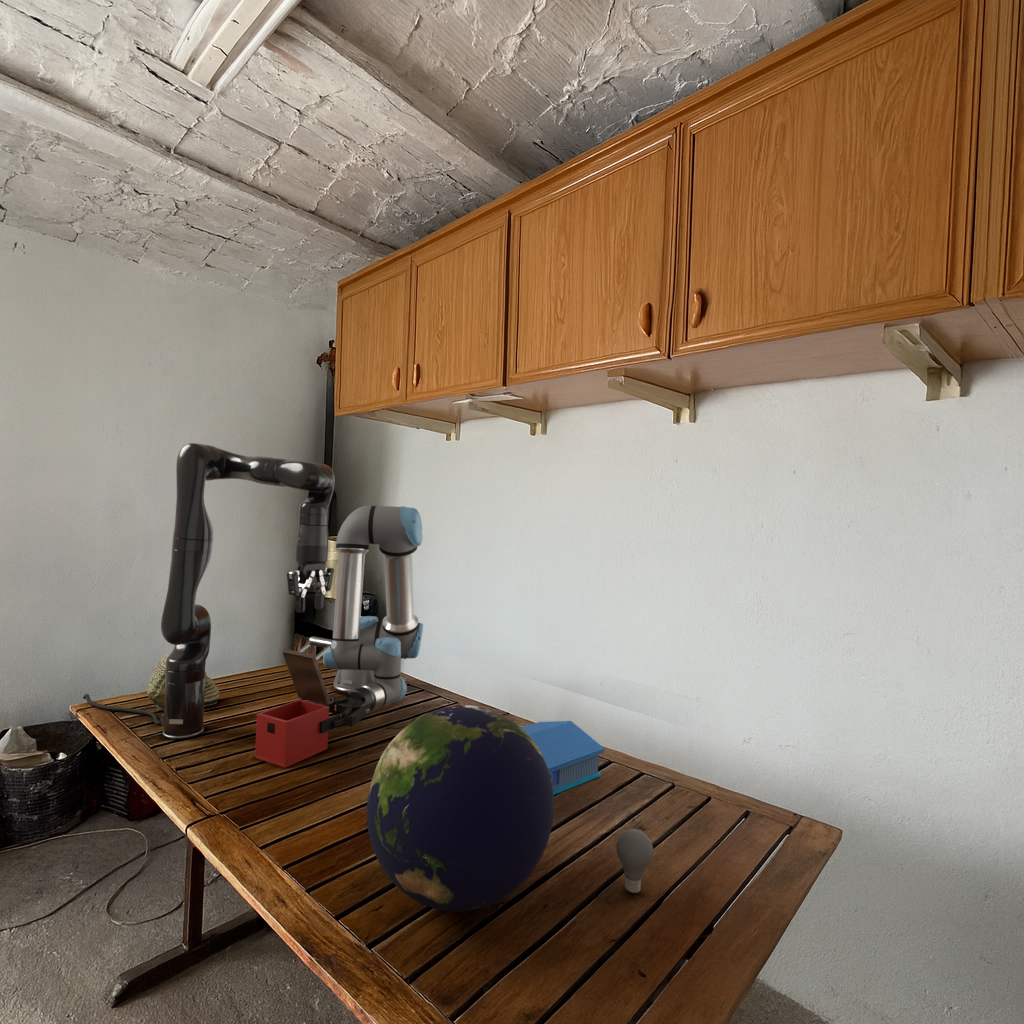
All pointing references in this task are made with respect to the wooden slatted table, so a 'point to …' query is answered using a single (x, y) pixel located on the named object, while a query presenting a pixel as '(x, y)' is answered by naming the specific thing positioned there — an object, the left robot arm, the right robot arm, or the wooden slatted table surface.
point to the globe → (460, 808)
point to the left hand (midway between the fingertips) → (309, 610)
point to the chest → (291, 732)
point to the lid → (309, 671)
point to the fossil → (158, 687)
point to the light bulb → (634, 857)
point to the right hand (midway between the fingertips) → (304, 723)
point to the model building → (566, 753)
